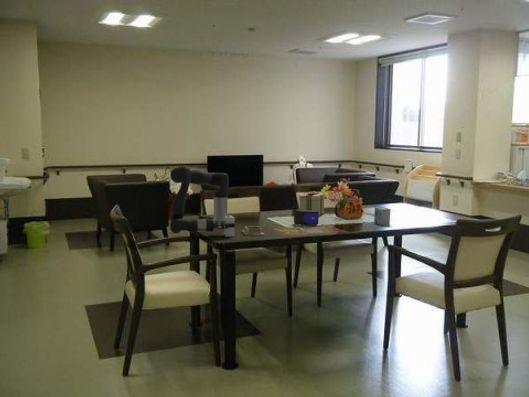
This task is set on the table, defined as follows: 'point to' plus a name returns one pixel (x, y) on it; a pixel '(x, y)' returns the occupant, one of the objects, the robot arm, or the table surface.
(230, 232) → the servo block
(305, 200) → the gift box
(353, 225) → the table surface
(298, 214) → the black and blue box
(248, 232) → the chassis board
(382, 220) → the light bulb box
